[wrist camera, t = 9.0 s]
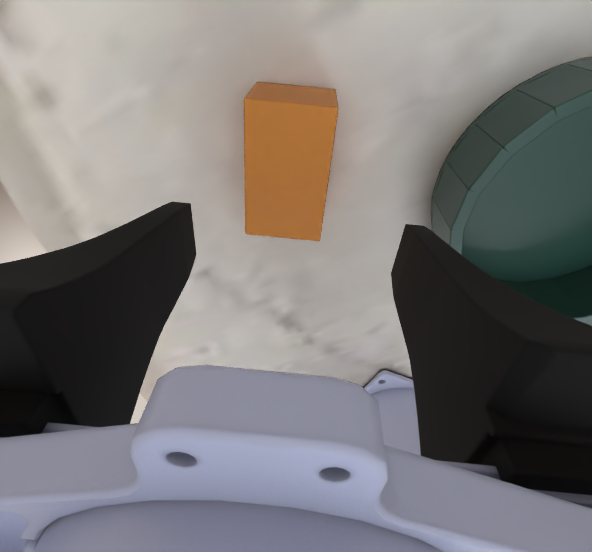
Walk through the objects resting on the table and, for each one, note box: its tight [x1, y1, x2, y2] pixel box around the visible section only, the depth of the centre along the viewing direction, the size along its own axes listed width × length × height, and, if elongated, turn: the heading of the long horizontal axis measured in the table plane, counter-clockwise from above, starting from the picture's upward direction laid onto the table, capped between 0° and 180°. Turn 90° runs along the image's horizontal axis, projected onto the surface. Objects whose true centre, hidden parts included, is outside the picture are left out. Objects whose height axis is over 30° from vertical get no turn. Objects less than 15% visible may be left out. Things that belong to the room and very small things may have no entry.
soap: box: [244, 82, 338, 241], centre depth 17 cm, size 6×4×3 cm, turn 176°
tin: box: [431, 57, 592, 324], centre depth 17 cm, size 12×12×4 cm
